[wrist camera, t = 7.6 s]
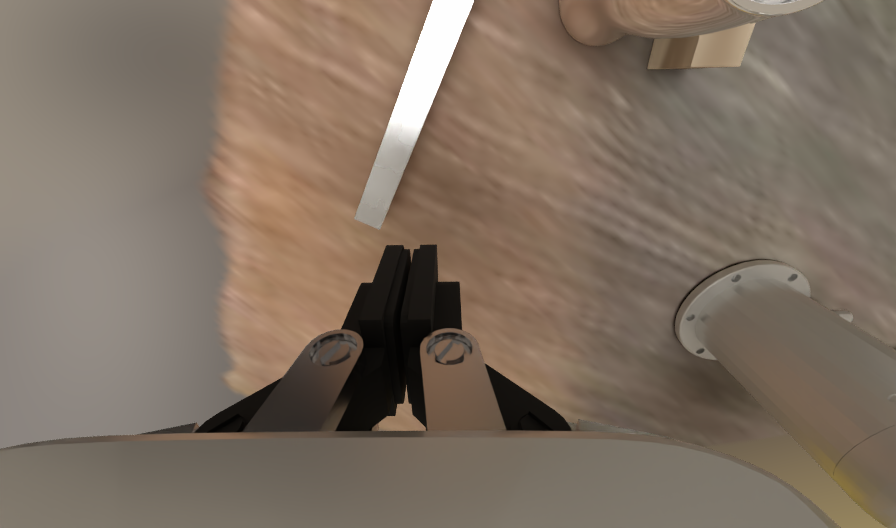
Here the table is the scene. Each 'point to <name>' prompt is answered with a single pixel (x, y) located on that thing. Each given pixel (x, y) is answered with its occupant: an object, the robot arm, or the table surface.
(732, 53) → the block
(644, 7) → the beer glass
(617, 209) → the table surface
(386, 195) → the bar
